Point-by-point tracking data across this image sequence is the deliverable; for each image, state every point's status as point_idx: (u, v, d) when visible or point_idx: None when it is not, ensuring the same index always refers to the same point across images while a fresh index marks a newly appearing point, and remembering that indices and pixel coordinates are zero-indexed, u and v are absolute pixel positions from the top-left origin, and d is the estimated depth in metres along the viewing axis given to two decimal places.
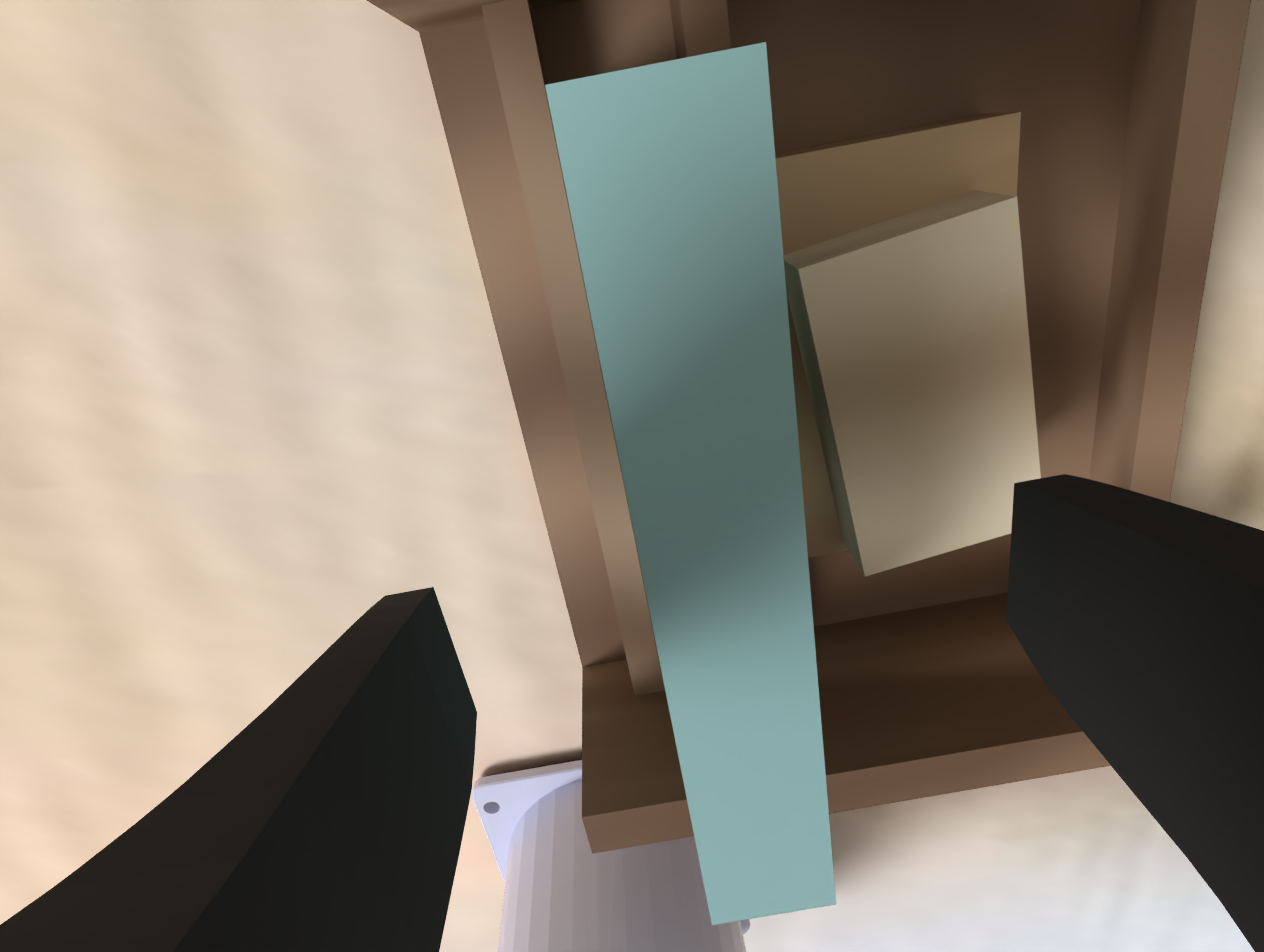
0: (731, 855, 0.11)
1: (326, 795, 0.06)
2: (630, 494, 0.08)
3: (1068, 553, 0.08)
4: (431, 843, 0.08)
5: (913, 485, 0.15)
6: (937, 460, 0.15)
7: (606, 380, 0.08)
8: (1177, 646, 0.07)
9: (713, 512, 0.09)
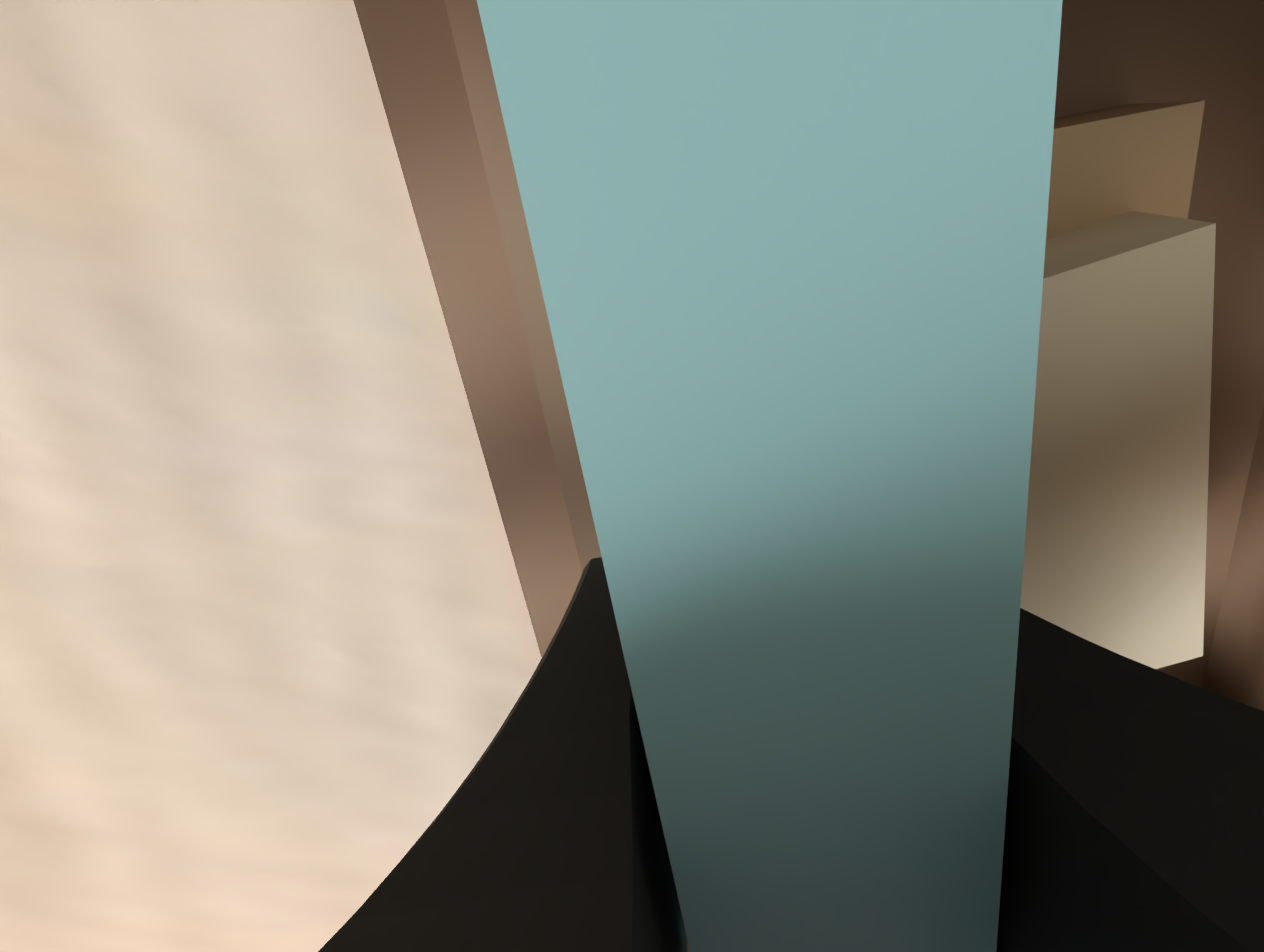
0: None
1: (638, 741, 0.06)
2: (673, 840, 0.04)
3: None
4: None
5: (1032, 611, 0.11)
6: (1067, 579, 0.11)
7: (629, 650, 0.04)
8: None
9: (832, 859, 0.04)
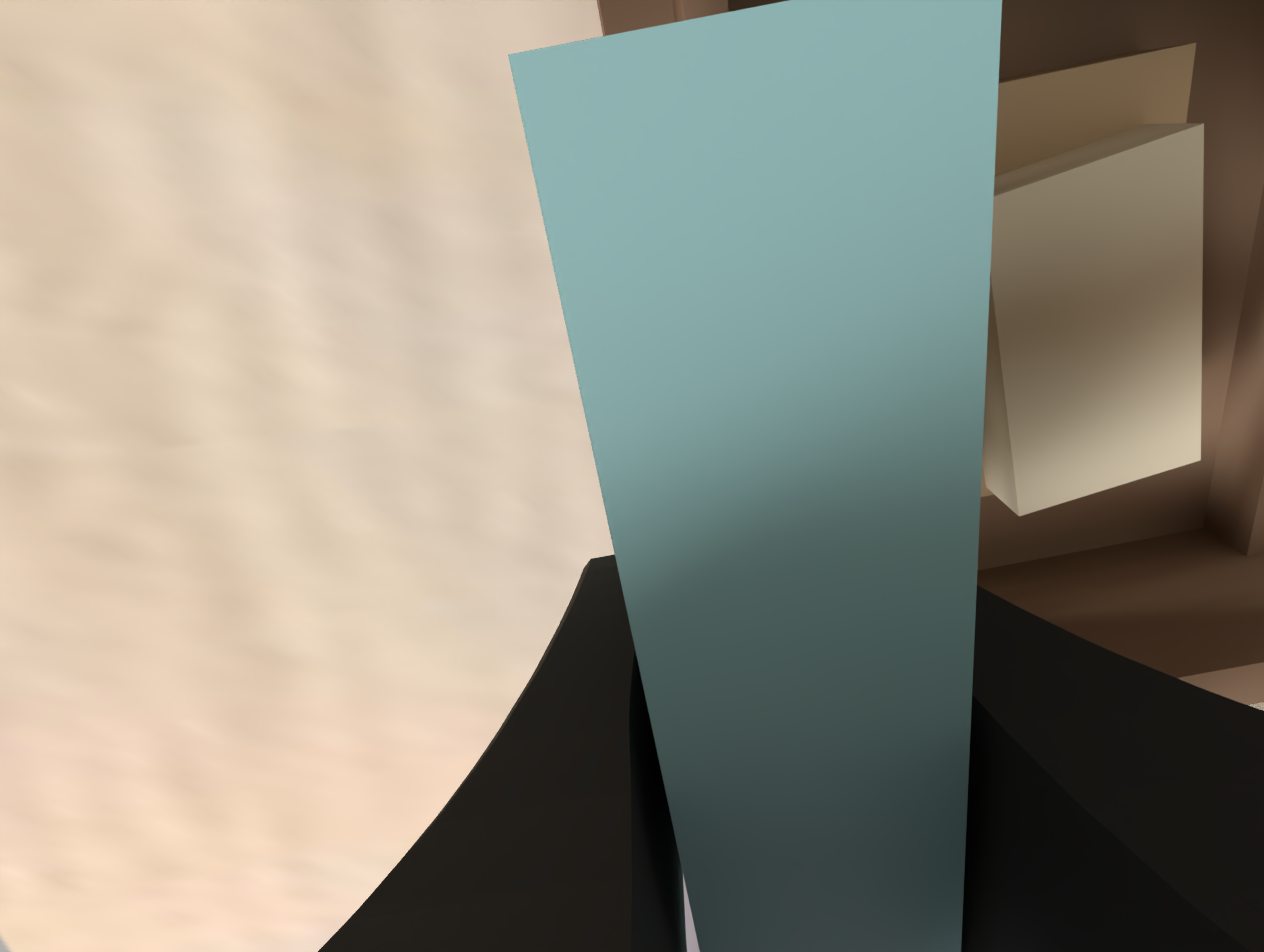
0: None
1: (638, 741, 0.06)
2: (671, 786, 0.05)
3: None
4: None
5: (1075, 422, 0.15)
6: (1101, 396, 0.15)
7: (632, 612, 0.04)
8: None
9: (813, 804, 0.05)
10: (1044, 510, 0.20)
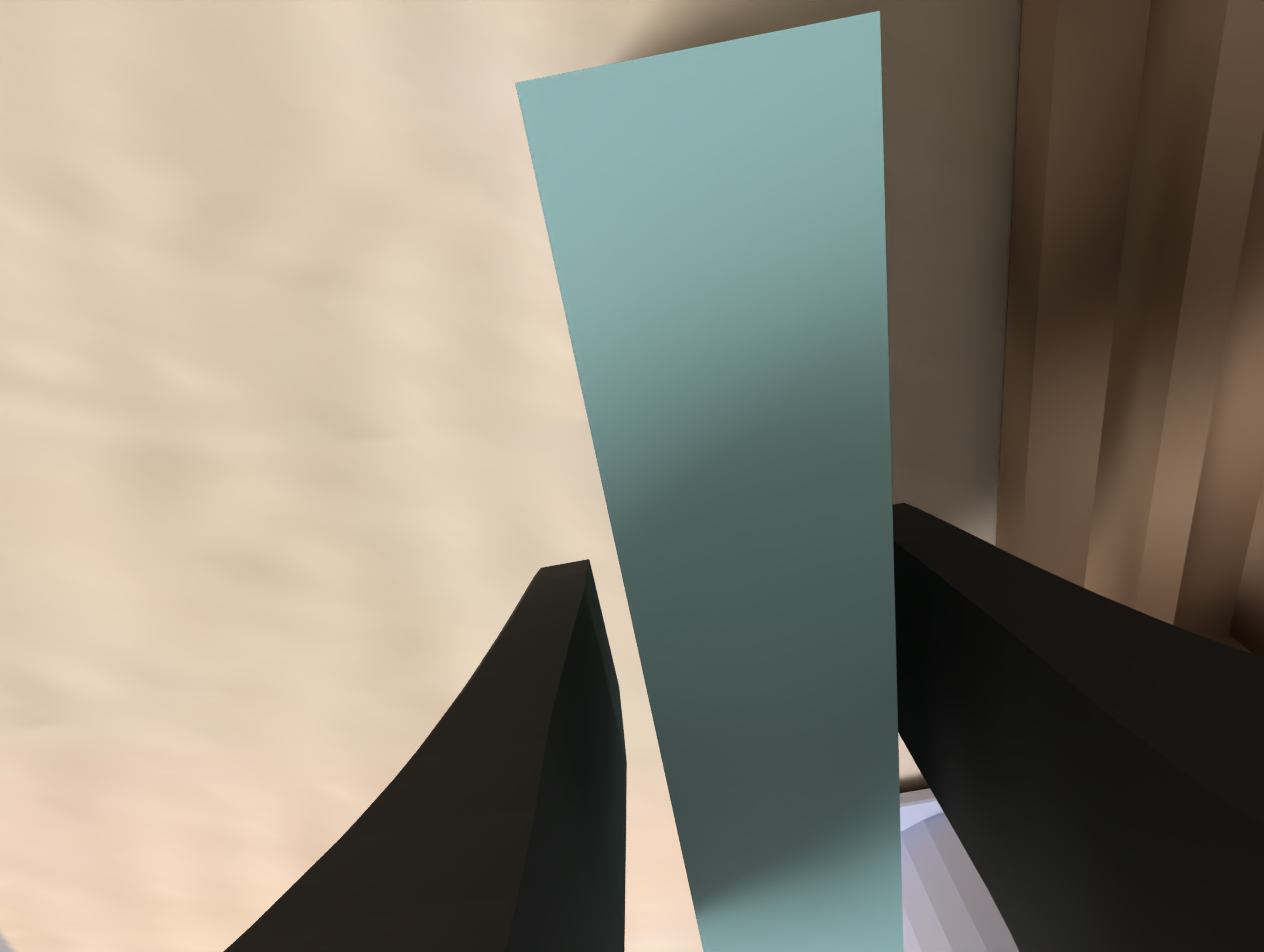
0: None
1: (560, 754, 0.06)
2: (649, 675, 0.06)
3: None
4: (612, 813, 0.08)
5: None
6: None
7: (615, 523, 0.05)
8: (964, 683, 0.07)
9: (769, 694, 0.06)
10: None
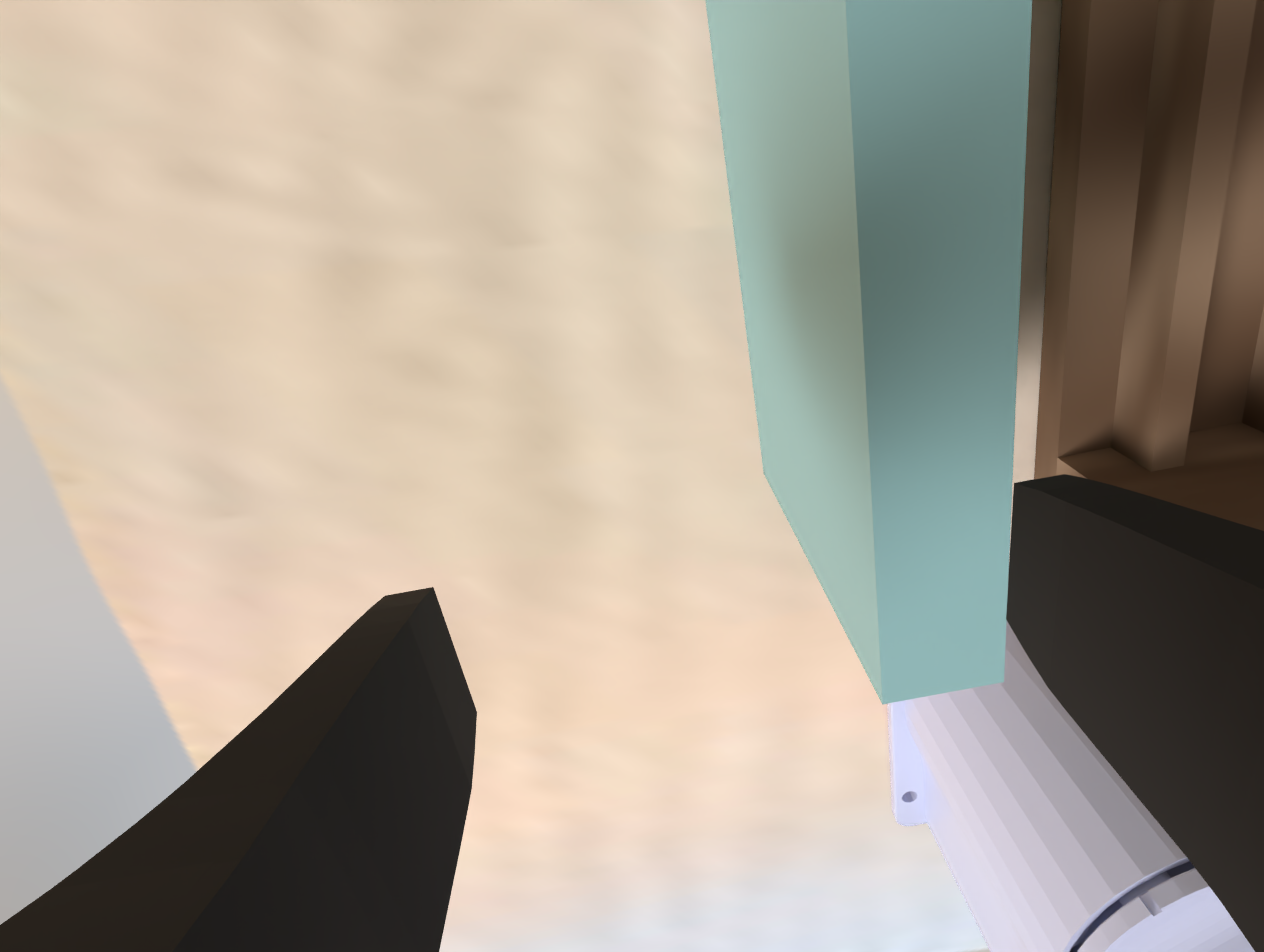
0: (910, 623, 0.11)
1: (325, 796, 0.06)
2: (860, 207, 0.09)
3: (1068, 553, 0.08)
4: (430, 843, 0.08)
5: None
6: None
7: (850, 80, 0.08)
8: (1177, 646, 0.07)
9: (936, 229, 0.09)
10: None
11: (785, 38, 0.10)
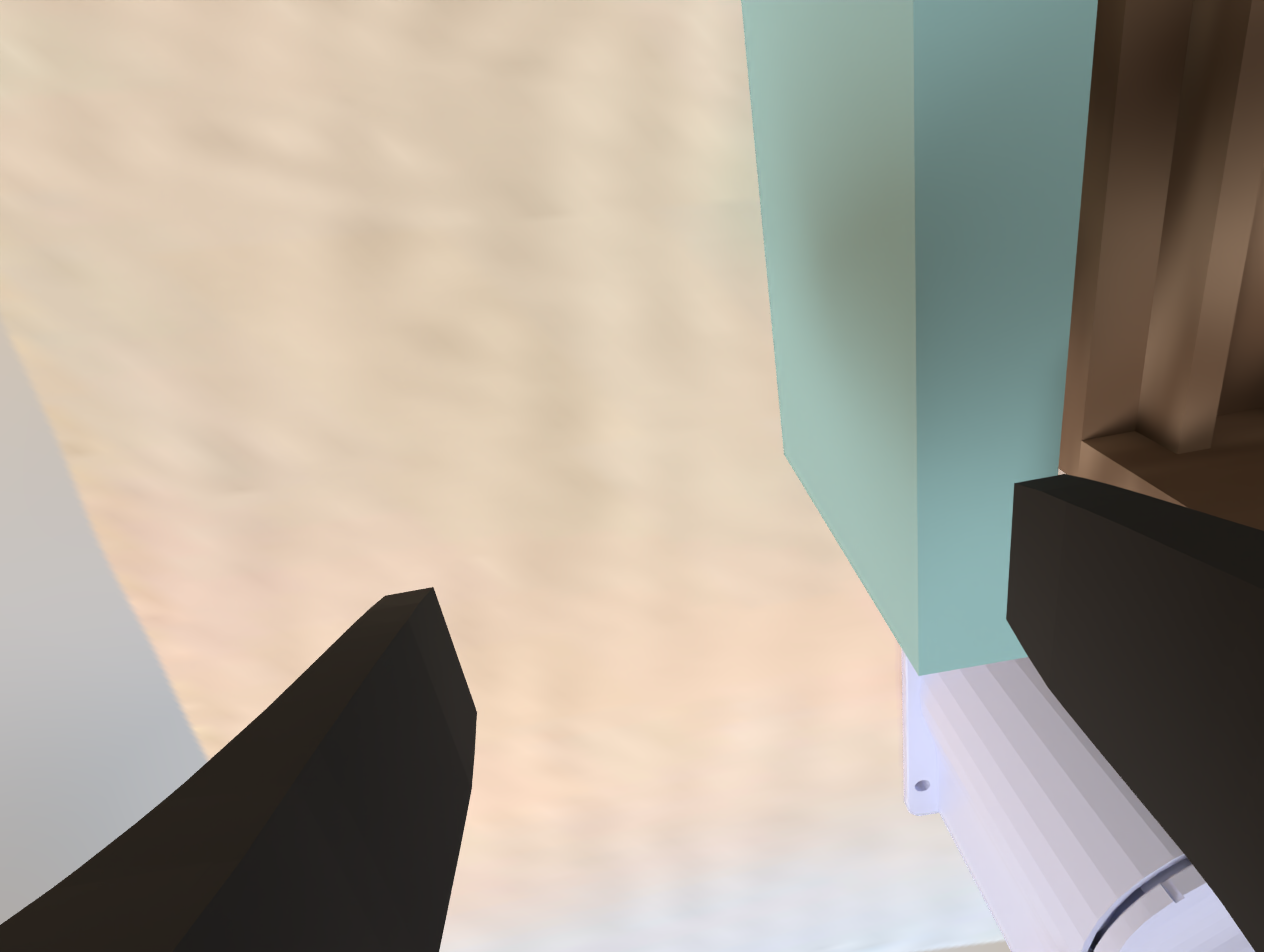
0: (950, 592, 0.11)
1: (325, 795, 0.06)
2: (919, 153, 0.08)
3: (1068, 553, 0.08)
4: (431, 843, 0.08)
5: None
6: None
7: (914, 18, 0.08)
8: (1177, 646, 0.07)
9: (995, 176, 0.09)
10: None
11: None
